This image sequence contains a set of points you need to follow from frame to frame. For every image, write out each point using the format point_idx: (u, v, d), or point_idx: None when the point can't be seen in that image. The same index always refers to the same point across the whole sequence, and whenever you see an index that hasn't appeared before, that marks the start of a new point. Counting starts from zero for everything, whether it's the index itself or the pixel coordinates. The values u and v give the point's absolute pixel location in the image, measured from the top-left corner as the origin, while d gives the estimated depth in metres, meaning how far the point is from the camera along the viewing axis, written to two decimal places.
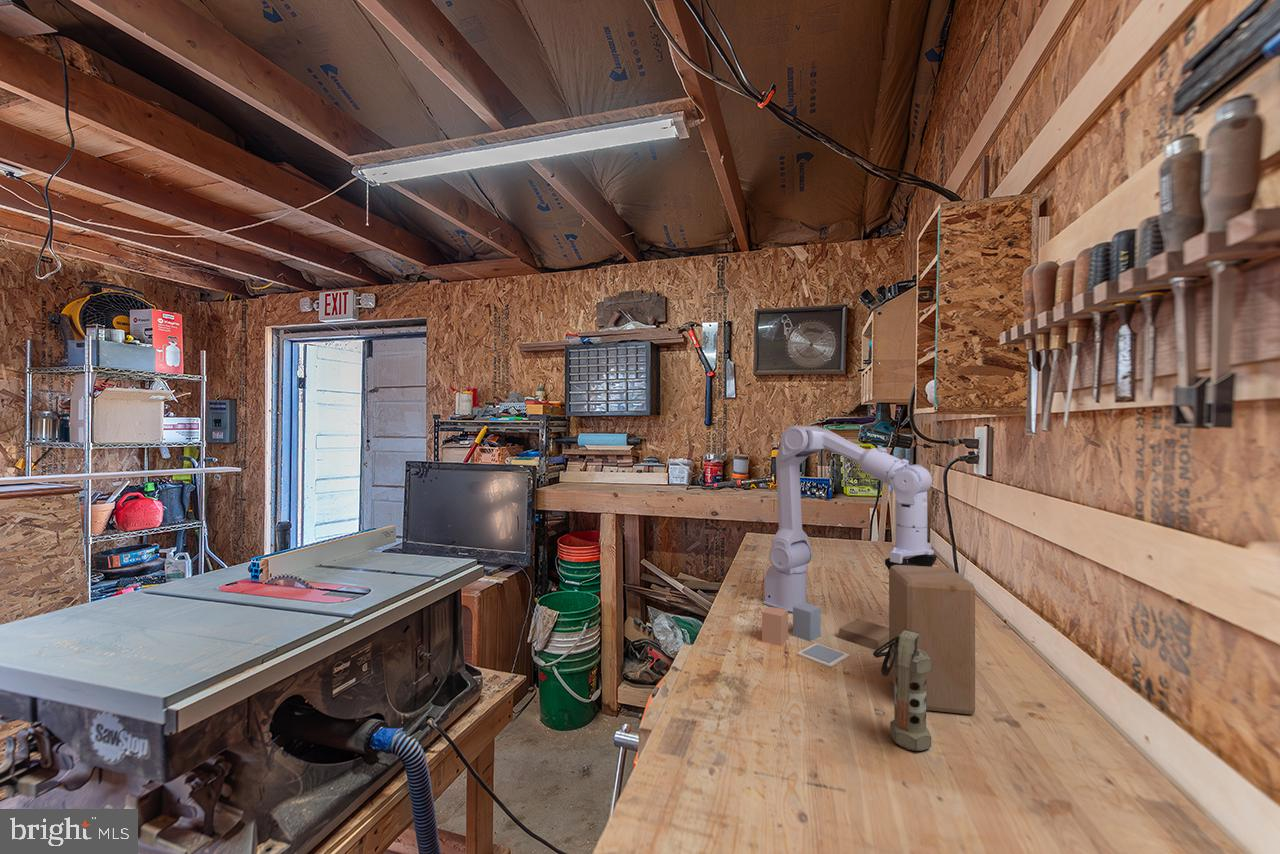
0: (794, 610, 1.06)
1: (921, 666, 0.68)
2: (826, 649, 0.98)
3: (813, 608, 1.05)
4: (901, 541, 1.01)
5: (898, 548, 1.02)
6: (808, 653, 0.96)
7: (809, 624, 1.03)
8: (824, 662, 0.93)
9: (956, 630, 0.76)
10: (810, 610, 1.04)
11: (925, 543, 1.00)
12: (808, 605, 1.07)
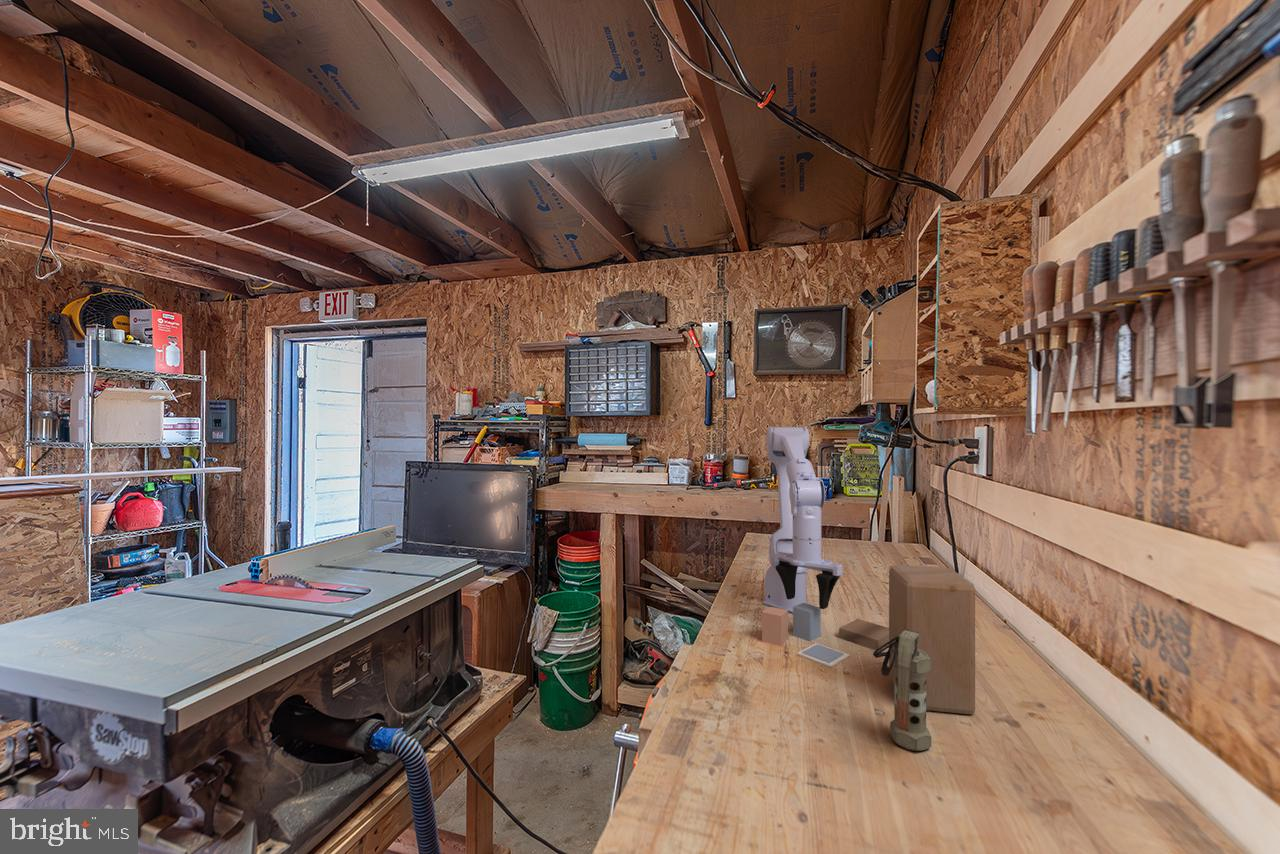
0: (794, 610, 1.06)
1: (921, 666, 0.68)
2: (826, 649, 0.98)
3: (813, 608, 1.05)
4: None
5: None
6: (808, 653, 0.96)
7: (809, 624, 1.03)
8: (824, 662, 0.93)
9: (956, 630, 0.76)
10: (810, 610, 1.04)
11: (798, 554, 1.04)
12: (808, 605, 1.07)
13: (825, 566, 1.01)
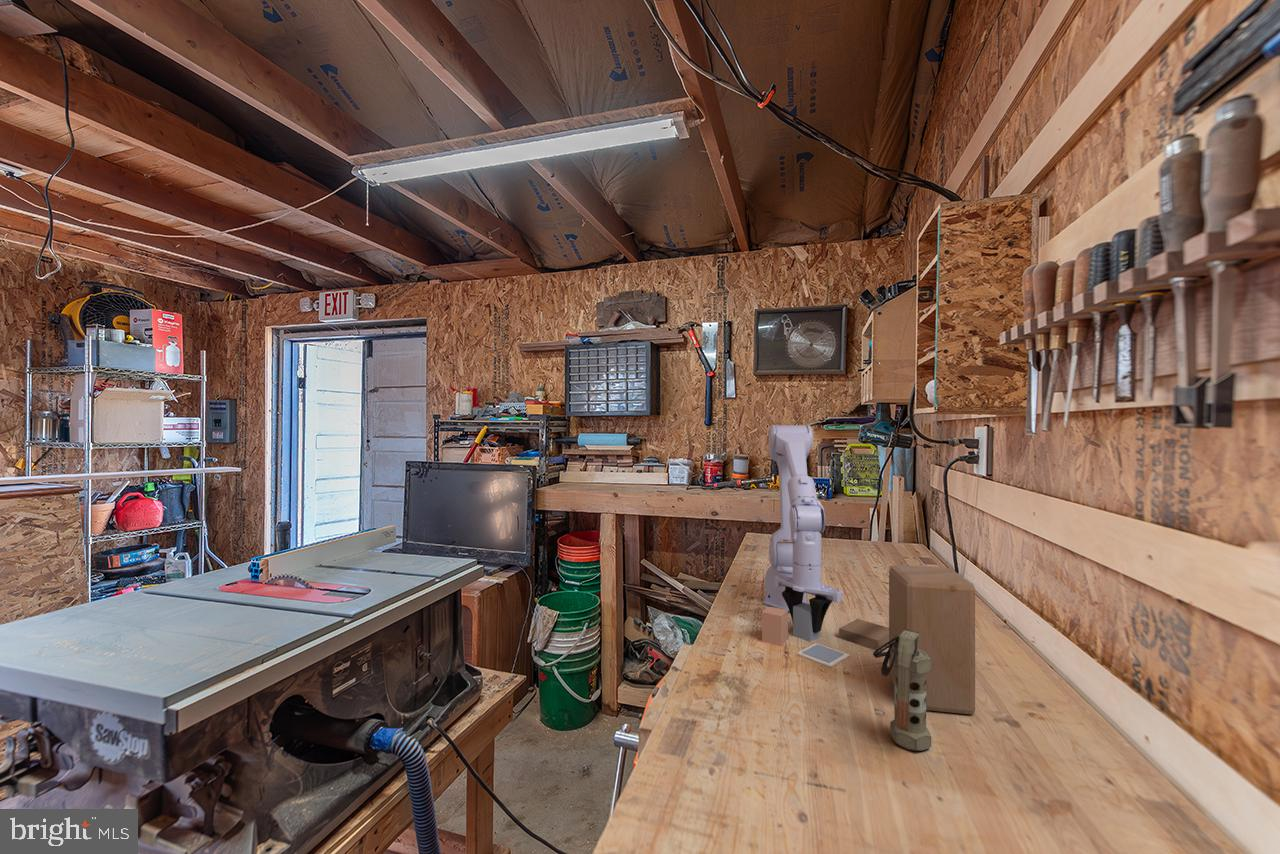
0: (794, 610, 1.06)
1: (921, 666, 0.68)
2: (826, 649, 0.98)
3: None
4: None
5: None
6: (808, 653, 0.96)
7: (809, 624, 1.03)
8: (824, 662, 0.93)
9: (956, 630, 0.76)
10: (810, 610, 1.04)
11: (798, 579, 1.04)
12: (808, 605, 1.07)
13: (825, 592, 1.01)
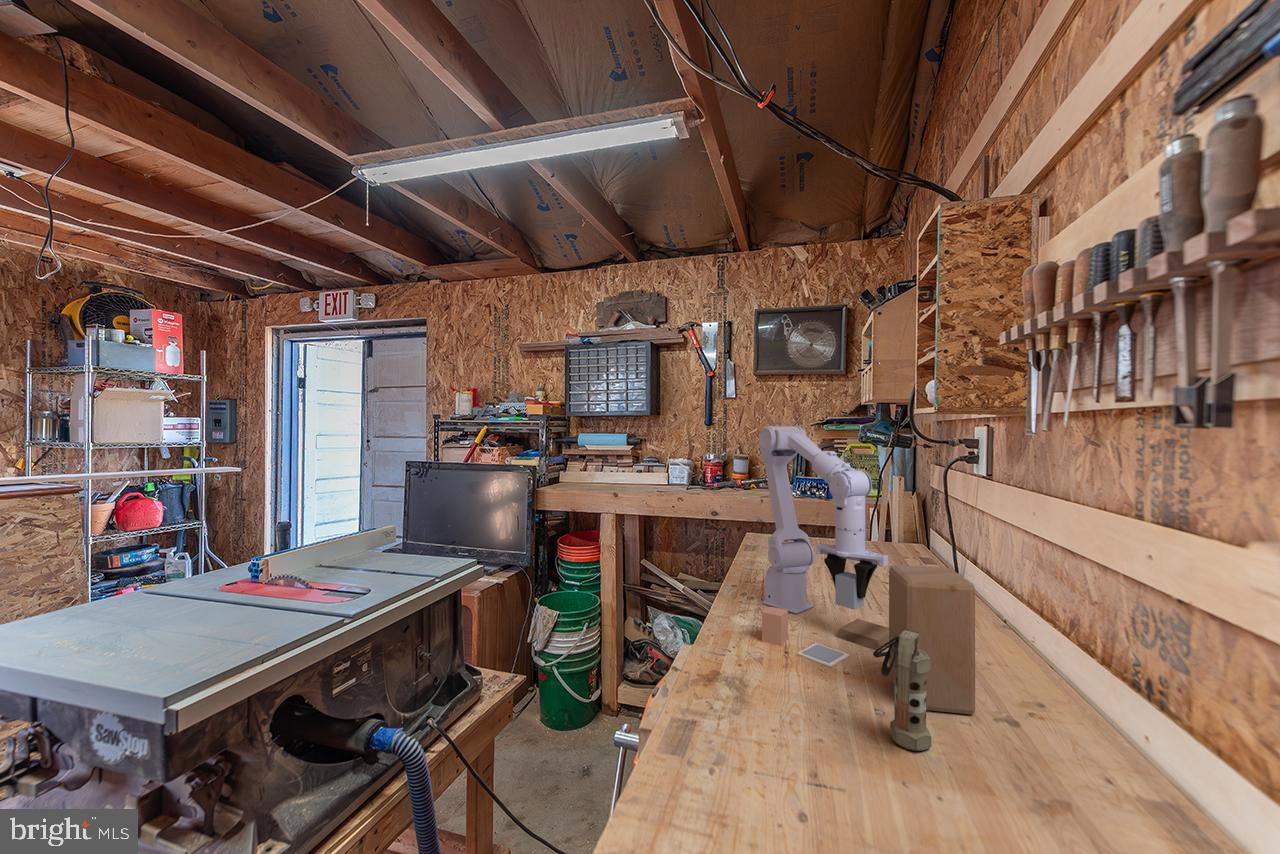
0: (837, 578, 1.05)
1: (921, 666, 0.68)
2: (826, 649, 0.98)
3: None
4: None
5: None
6: (808, 653, 0.96)
7: (853, 592, 1.02)
8: (824, 662, 0.93)
9: (956, 630, 0.76)
10: (853, 578, 1.03)
11: (842, 545, 1.03)
12: (851, 574, 1.06)
13: (870, 557, 1.00)
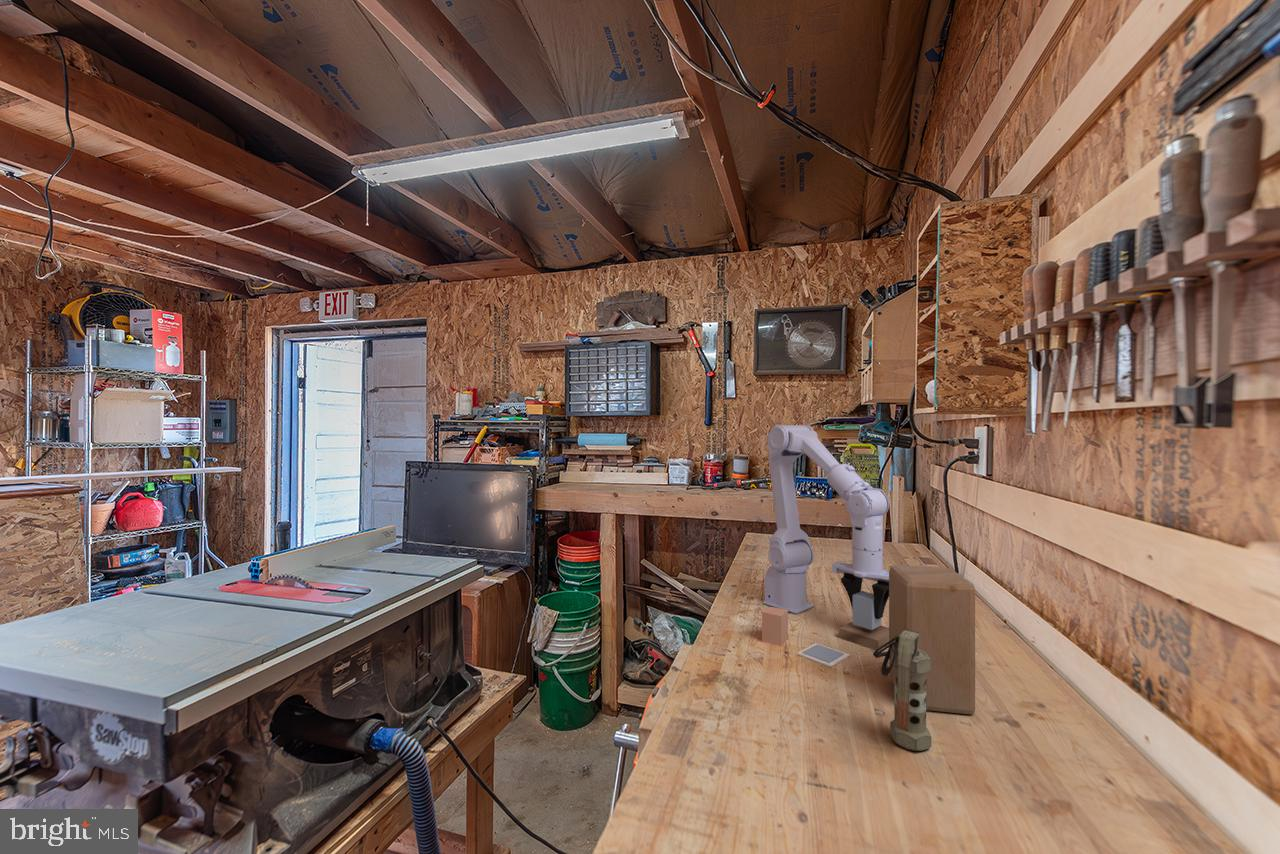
0: (854, 598, 1.04)
1: (921, 666, 0.68)
2: (826, 649, 0.98)
3: None
4: None
5: None
6: (808, 653, 0.96)
7: (870, 612, 1.02)
8: (824, 662, 0.93)
9: (956, 629, 0.76)
10: (871, 598, 1.02)
11: (859, 565, 1.03)
12: (868, 593, 1.05)
13: None
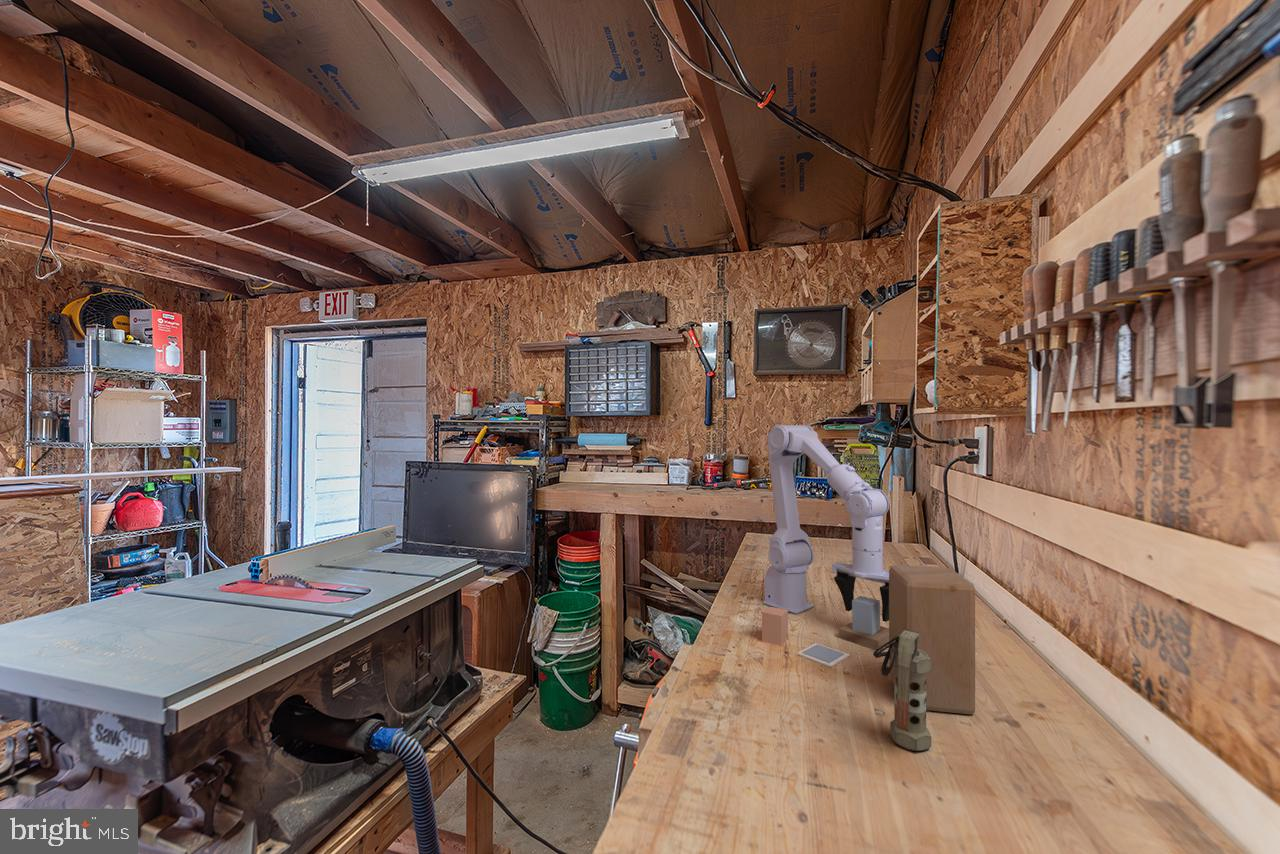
0: (853, 604, 1.04)
1: (921, 666, 0.68)
2: (826, 649, 0.98)
3: (873, 601, 1.03)
4: None
5: None
6: (808, 653, 0.96)
7: (871, 617, 1.02)
8: (824, 662, 0.93)
9: (956, 630, 0.76)
10: (871, 603, 1.02)
11: (859, 565, 1.03)
12: (866, 598, 1.05)
13: None
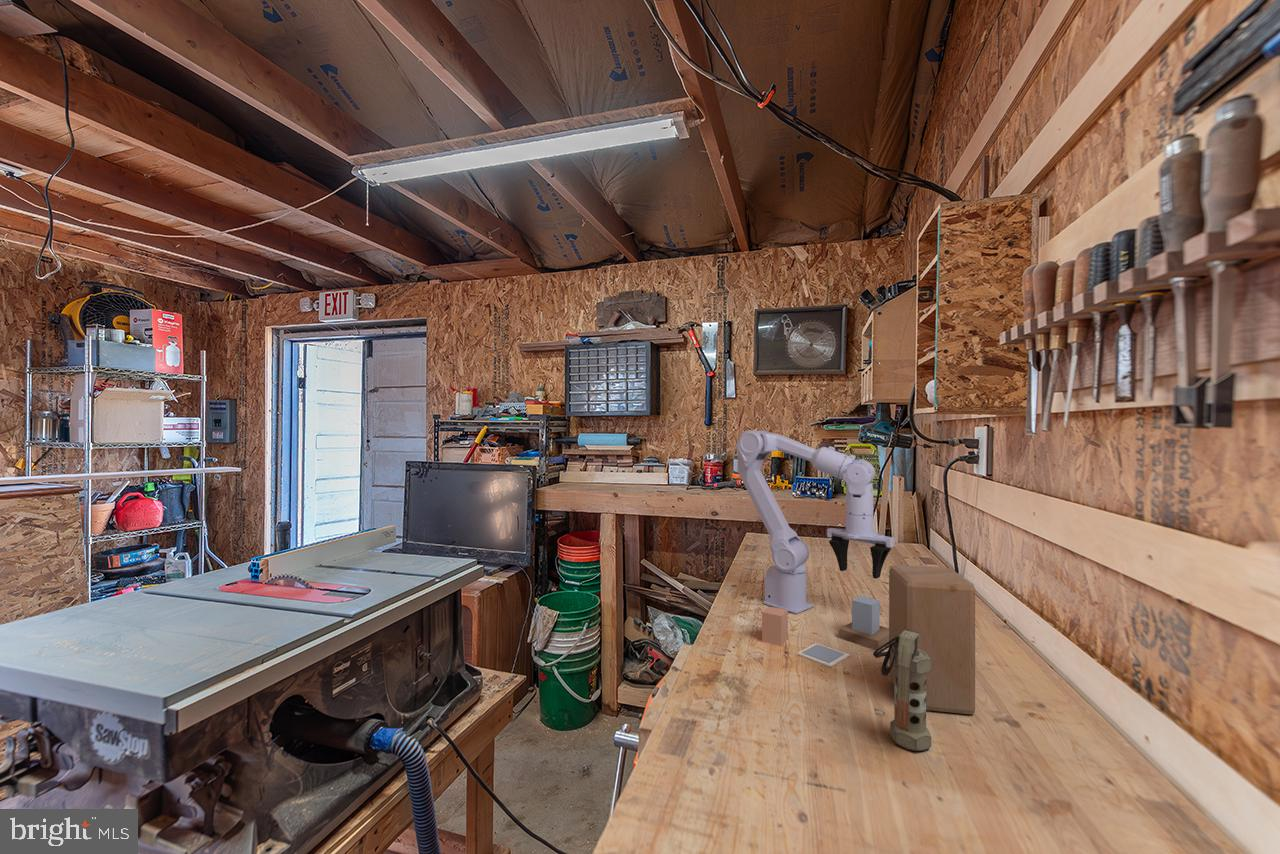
0: (853, 603, 1.04)
1: (921, 666, 0.68)
2: (826, 649, 0.98)
3: (873, 601, 1.03)
4: None
5: None
6: (808, 653, 0.96)
7: (870, 617, 1.02)
8: (824, 662, 0.93)
9: (956, 630, 0.76)
10: (871, 603, 1.02)
11: (852, 528, 1.13)
12: (866, 598, 1.05)
13: (878, 539, 1.10)
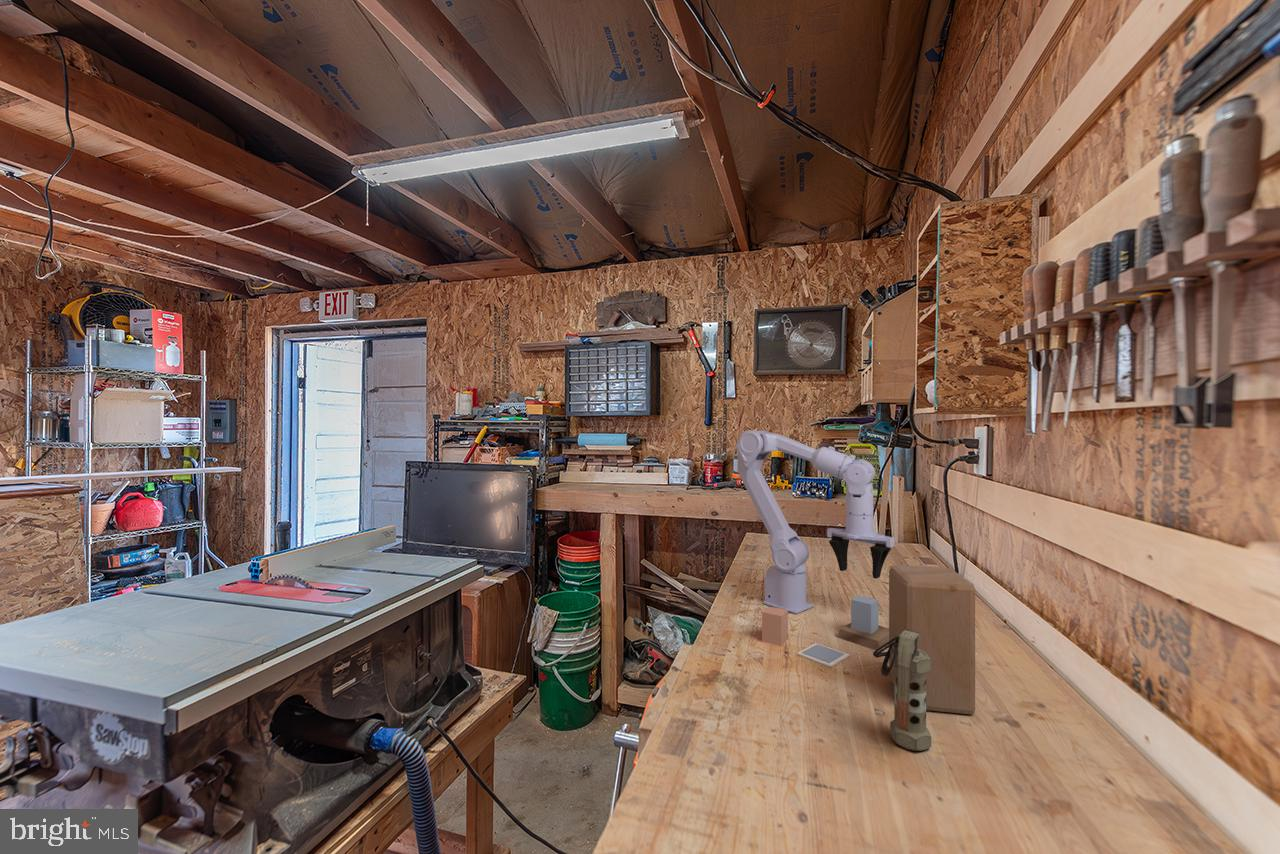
0: (852, 603, 1.04)
1: (921, 666, 0.68)
2: (826, 649, 0.98)
3: (872, 601, 1.04)
4: None
5: None
6: (808, 653, 0.96)
7: (870, 617, 1.02)
8: (824, 662, 0.93)
9: (956, 630, 0.76)
10: (870, 602, 1.03)
11: (852, 528, 1.13)
12: (865, 598, 1.06)
13: (878, 539, 1.10)
